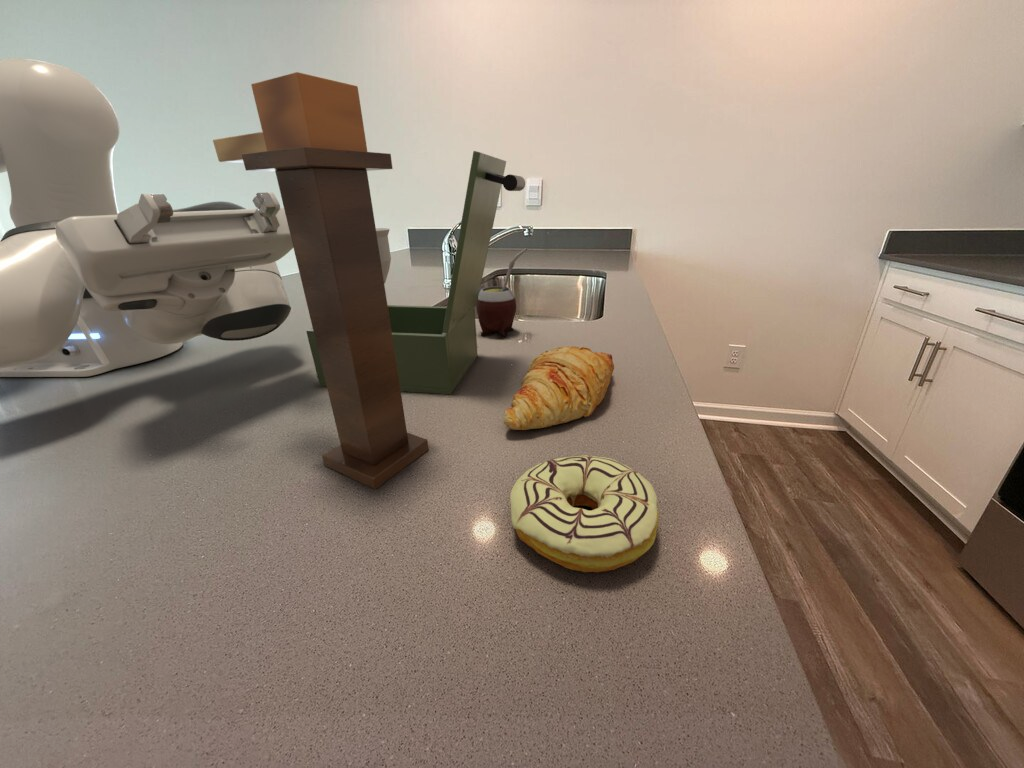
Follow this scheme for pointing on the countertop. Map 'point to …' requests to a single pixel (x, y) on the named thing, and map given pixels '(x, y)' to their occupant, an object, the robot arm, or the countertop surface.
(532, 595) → the countertop surface
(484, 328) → the mate gourd
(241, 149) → the brown piece
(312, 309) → the pedestal stand
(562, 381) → the croissant
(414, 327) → the bin
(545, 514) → the decorated donut
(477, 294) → the bin lid
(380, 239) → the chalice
